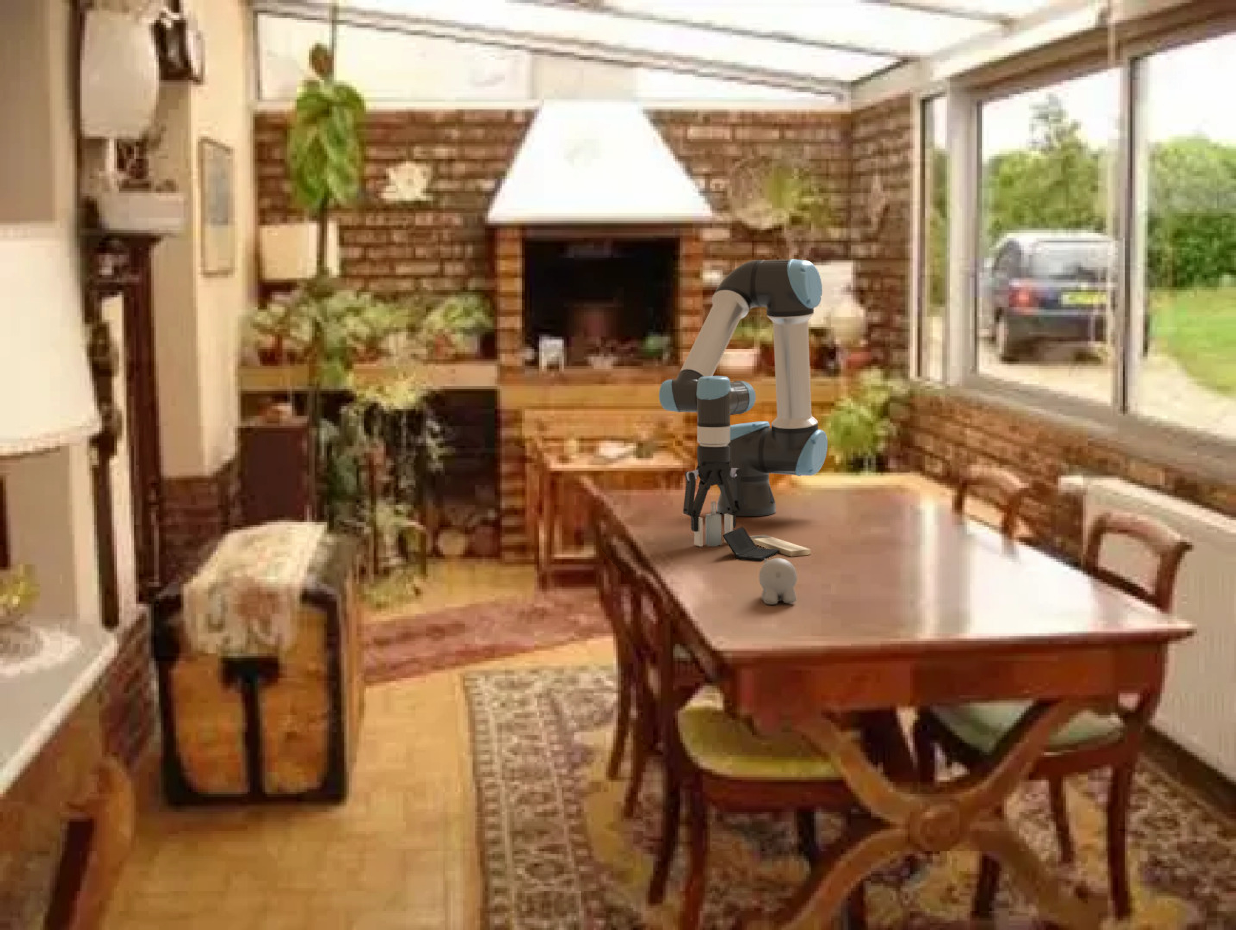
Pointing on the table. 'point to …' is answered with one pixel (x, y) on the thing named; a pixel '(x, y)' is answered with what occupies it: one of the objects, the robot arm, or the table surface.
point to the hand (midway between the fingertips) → (713, 543)
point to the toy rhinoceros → (778, 581)
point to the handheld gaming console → (746, 546)
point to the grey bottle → (713, 527)
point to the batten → (780, 545)
